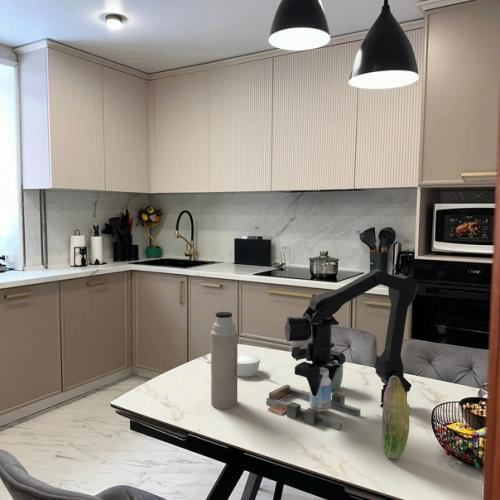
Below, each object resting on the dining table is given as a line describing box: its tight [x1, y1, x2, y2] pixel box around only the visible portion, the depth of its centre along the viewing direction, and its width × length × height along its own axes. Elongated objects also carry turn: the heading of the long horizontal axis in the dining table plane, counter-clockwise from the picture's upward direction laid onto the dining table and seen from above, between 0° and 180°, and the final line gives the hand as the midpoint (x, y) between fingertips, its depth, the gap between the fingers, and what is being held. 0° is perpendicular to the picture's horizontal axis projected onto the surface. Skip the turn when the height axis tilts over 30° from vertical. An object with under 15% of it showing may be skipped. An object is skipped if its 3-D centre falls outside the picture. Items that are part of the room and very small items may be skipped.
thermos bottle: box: [210, 311, 238, 410], centre depth 137 cm, size 8×8×28 cm
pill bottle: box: [309, 367, 332, 412], centre depth 132 cm, size 6×6×11 cm
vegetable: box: [381, 376, 410, 460], centre depth 107 cm, size 6×6×20 cm
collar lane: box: [265, 384, 362, 431], centre depth 134 cm, size 25×18×4 cm
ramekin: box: [237, 353, 261, 378], centre depth 165 cm, size 11×11×5 cm
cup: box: [331, 361, 344, 391], centre depth 150 cm, size 8×8×10 cm
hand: (320, 392), depth 132 cm, fingers closed on pill bottle, 6 cm apart
